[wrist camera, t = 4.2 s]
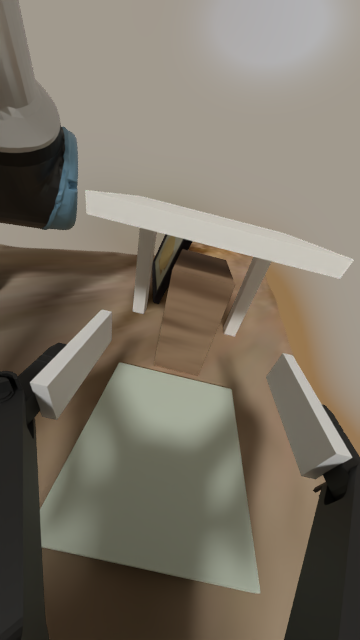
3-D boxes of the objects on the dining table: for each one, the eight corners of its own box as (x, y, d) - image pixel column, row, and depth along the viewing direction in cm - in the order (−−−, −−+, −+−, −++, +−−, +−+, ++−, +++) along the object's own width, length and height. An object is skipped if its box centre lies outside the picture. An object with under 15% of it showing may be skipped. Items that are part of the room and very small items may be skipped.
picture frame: (151, 264, 56) (165, 209, 48) (179, 272, 58) (197, 221, 50) (152, 302, 37) (175, 223, 29) (193, 311, 40) (224, 240, 32)
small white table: (252, 398, 23) (354, 259, 13) (95, 360, 23) (85, 189, 13) (235, 330, 35) (283, 232, 26) (133, 305, 35) (143, 196, 25)
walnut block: (198, 376, 24) (235, 285, 17) (153, 365, 24) (172, 269, 17) (199, 334, 32) (226, 260, 25) (165, 326, 32) (182, 249, 24)
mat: (254, 593, 11) (260, 593, 11) (26, 543, 11) (22, 541, 10) (229, 393, 23) (231, 389, 22) (119, 366, 23) (119, 362, 22)
